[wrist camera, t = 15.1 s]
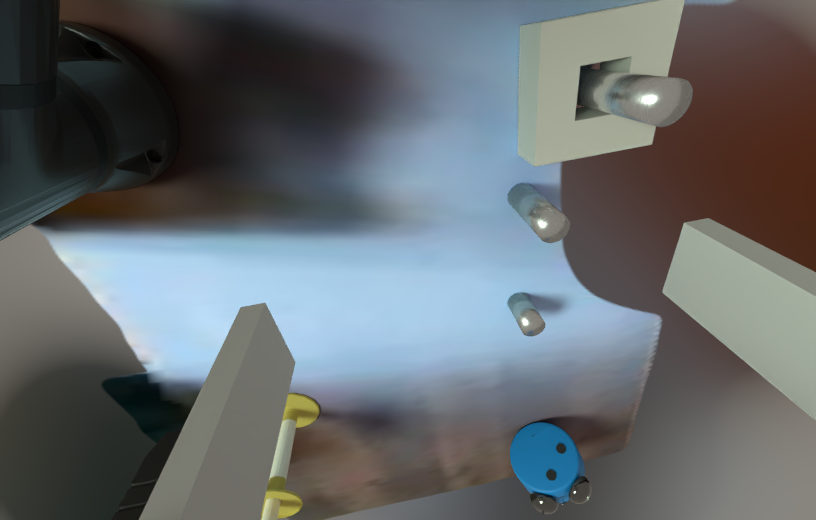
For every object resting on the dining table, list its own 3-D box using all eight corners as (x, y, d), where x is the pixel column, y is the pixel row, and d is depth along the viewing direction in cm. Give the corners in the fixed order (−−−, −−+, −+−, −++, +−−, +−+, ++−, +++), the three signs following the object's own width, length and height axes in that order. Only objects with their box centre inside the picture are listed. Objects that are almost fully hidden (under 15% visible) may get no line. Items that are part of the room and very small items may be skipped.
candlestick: (303, 431, 66) (259, 702, 39) (253, 417, 62) (166, 706, 35) (329, 403, 63) (301, 681, 35) (278, 386, 59) (201, 683, 31)
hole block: (517, 154, 41) (534, 166, 37) (519, 25, 34) (541, 22, 30) (622, 134, 41) (651, 144, 37) (646, 1, 34) (685, -5, 30)
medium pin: (507, 209, 45) (537, 245, 37) (507, 185, 43) (539, 217, 35) (532, 205, 45) (568, 239, 37) (533, 180, 43) (571, 211, 35)
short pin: (507, 311, 55) (521, 338, 50) (507, 294, 53) (522, 321, 48) (528, 307, 55) (544, 333, 50) (528, 290, 53) (546, 316, 48)
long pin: (559, 104, 39) (643, 130, 27) (561, 71, 37) (653, 83, 25) (588, 99, 39) (685, 122, 27) (592, 65, 37) (698, 74, 25)
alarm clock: (509, 445, 77) (537, 524, 64) (500, 433, 74) (527, 513, 61) (564, 424, 75) (604, 502, 62) (557, 410, 72) (598, 489, 59)
